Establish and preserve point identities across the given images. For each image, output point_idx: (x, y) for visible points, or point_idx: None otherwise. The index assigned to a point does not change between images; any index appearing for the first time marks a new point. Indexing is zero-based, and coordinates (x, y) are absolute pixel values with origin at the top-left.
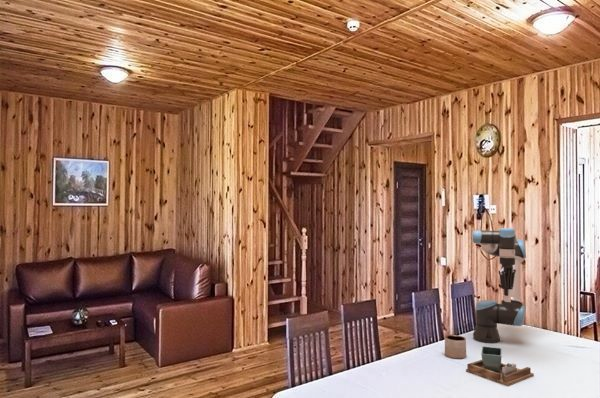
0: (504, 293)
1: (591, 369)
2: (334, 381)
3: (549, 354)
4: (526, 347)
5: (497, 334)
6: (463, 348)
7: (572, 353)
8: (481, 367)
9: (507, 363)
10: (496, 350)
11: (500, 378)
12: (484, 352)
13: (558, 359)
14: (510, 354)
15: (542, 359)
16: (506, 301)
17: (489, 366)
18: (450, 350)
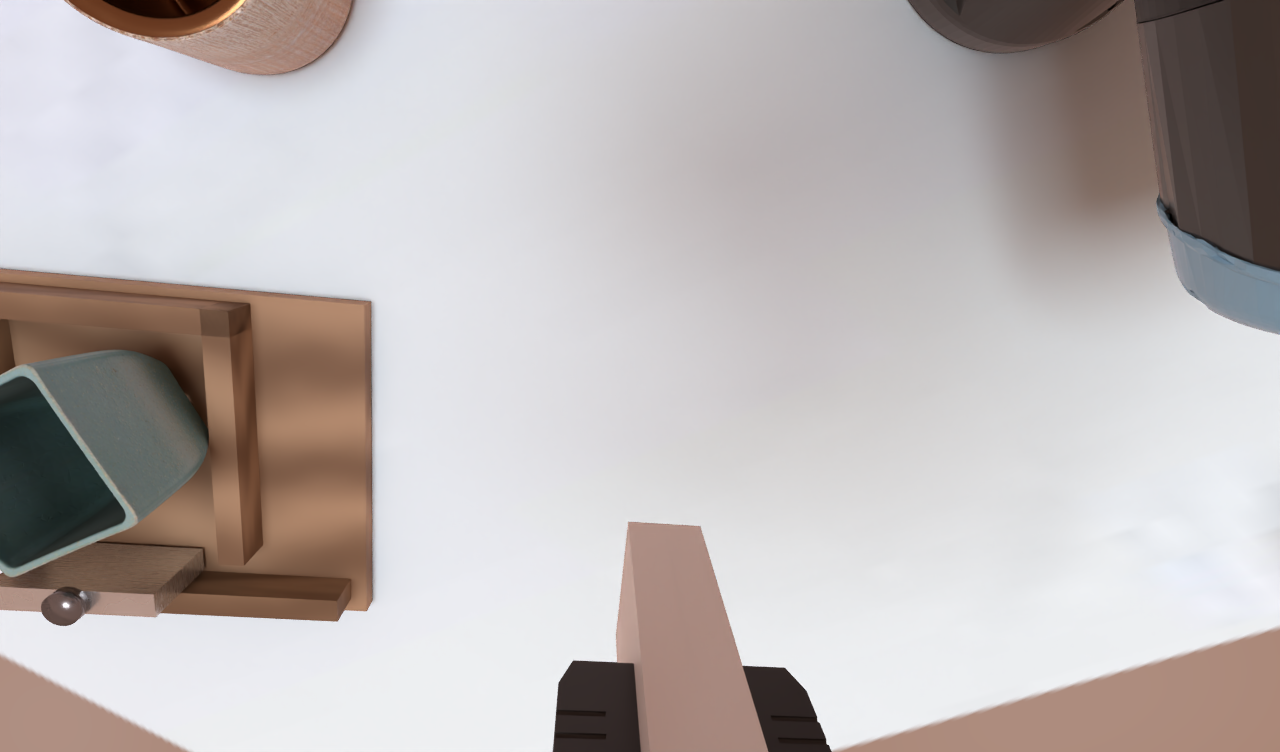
0: (558, 717)
1: None
2: None
3: (944, 483)
4: (1014, 295)
5: (1048, 20)
6: (193, 56)
7: (1085, 570)
8: (128, 329)
9: (61, 595)
10: (124, 474)
11: None
12: (81, 368)
13: (865, 564)
14: (713, 294)
15: (779, 499)
16: (624, 578)
17: (61, 435)
18: None
